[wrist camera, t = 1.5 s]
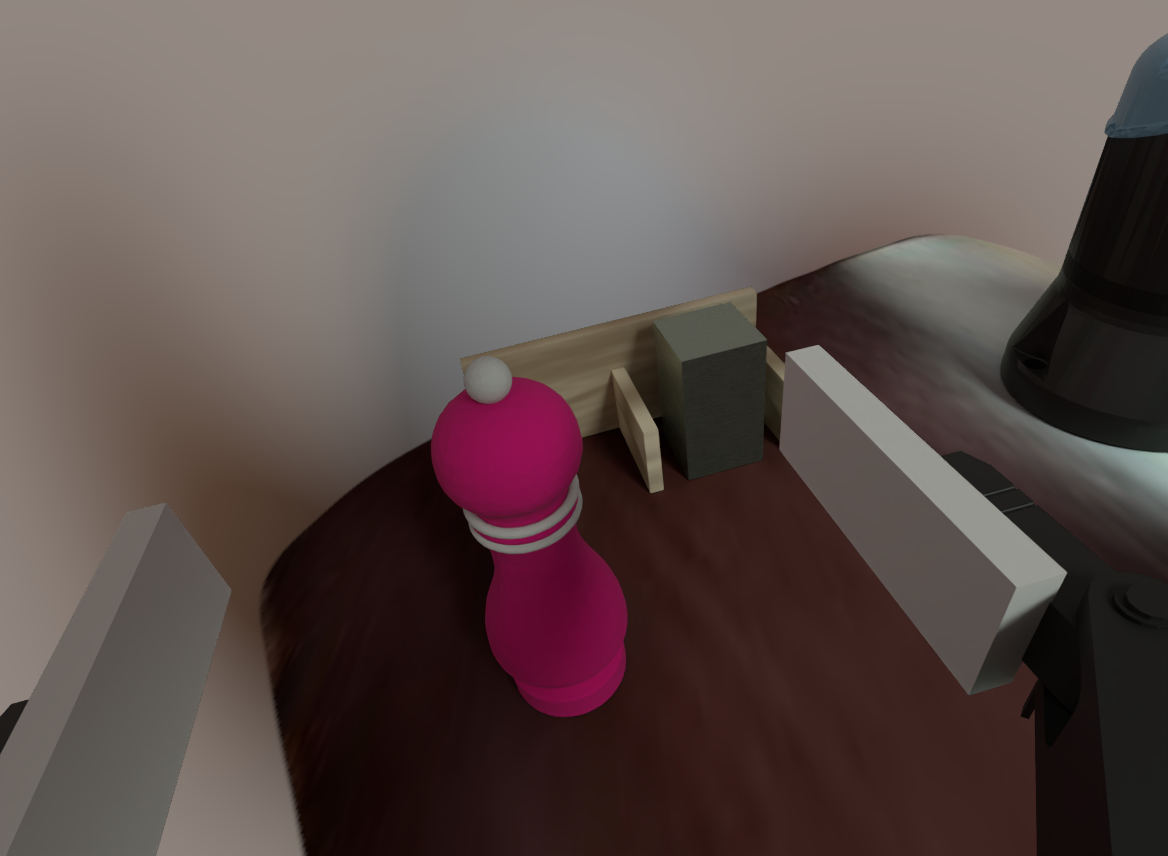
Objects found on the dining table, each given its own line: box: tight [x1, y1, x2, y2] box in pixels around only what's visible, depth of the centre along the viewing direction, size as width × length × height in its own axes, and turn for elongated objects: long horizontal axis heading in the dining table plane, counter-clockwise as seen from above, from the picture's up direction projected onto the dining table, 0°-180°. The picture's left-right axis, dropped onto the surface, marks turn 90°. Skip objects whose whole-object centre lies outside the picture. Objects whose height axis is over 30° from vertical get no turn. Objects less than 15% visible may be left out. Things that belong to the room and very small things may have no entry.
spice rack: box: [460, 287, 785, 493], centre depth 45 cm, size 9×22×9 cm, turn 103°
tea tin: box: [653, 302, 767, 480], centre depth 44 cm, size 6×6×10 cm
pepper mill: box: [431, 356, 627, 717], centre depth 29 cm, size 7×7×20 cm
